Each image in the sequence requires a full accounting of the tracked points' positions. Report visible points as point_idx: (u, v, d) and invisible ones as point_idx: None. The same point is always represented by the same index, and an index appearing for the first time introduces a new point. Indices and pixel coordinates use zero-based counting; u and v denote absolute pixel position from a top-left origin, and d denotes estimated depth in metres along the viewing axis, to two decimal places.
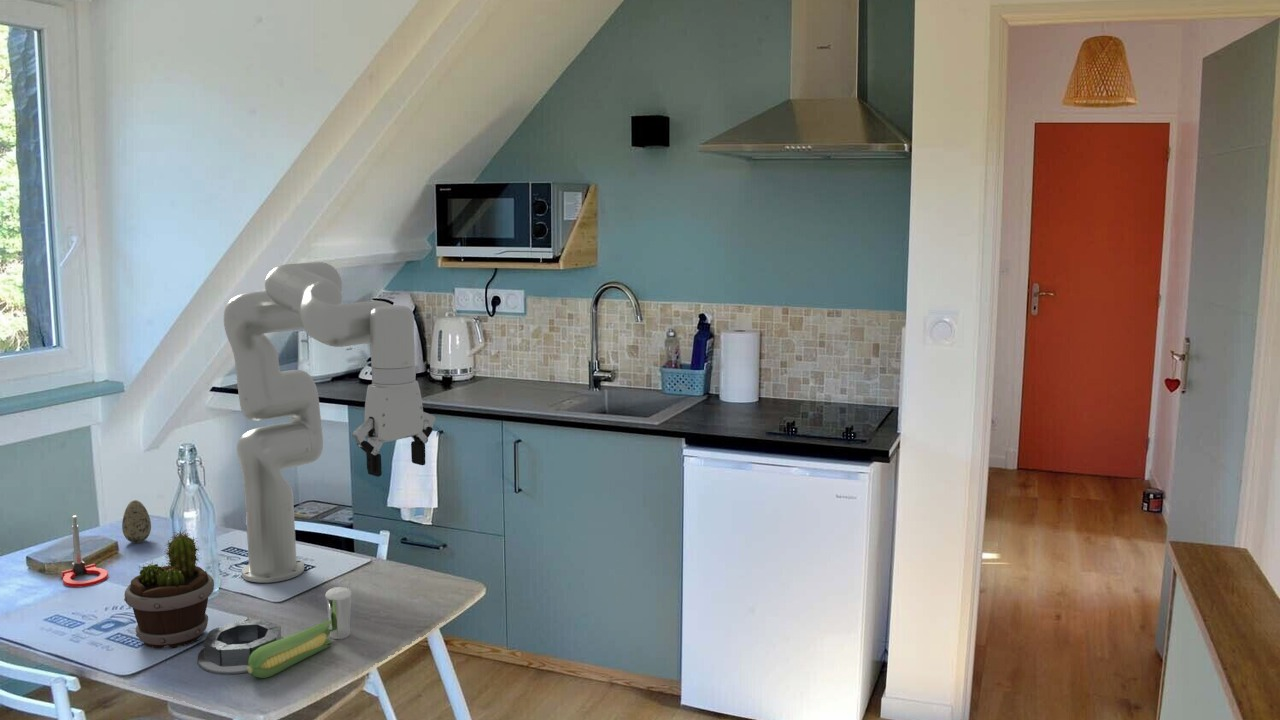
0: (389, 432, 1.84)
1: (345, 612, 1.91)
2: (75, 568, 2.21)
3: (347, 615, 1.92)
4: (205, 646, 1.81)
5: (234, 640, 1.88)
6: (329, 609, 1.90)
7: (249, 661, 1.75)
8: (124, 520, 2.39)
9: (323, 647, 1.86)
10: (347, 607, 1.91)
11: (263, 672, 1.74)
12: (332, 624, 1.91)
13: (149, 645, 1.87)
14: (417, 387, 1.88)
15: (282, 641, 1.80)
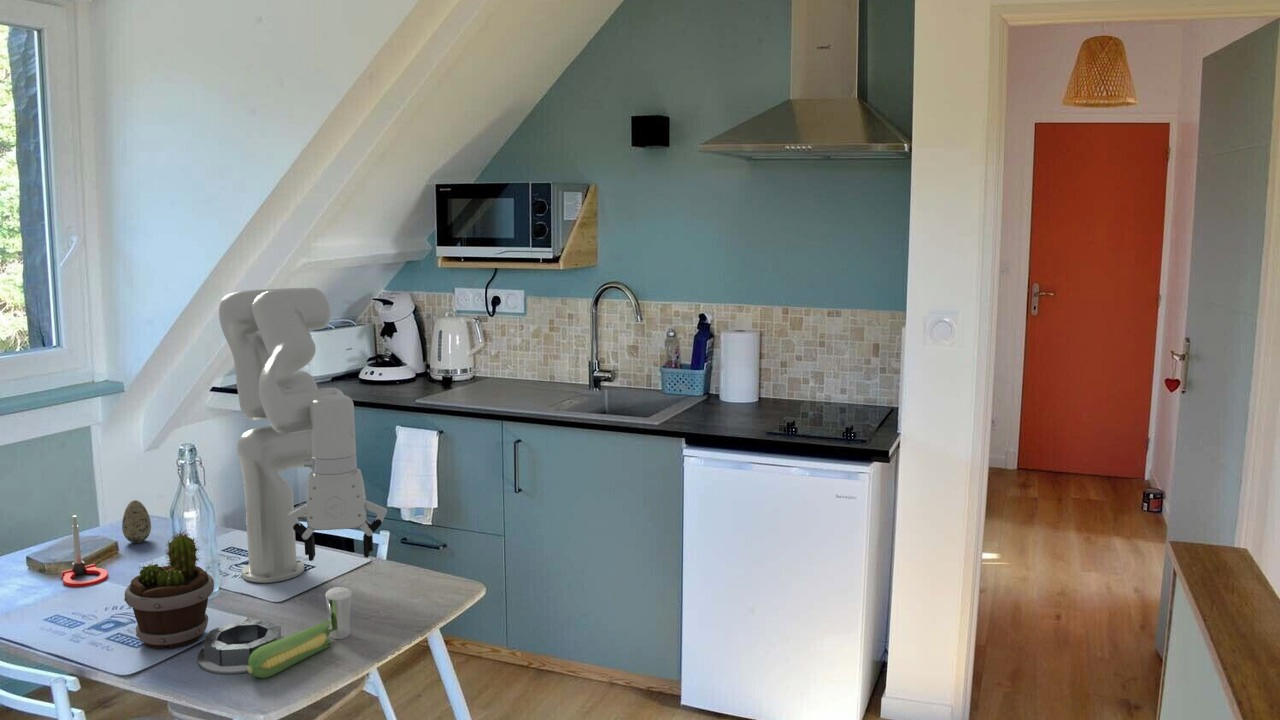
0: None
1: (345, 612, 1.91)
2: (75, 568, 2.21)
3: (347, 615, 1.92)
4: (205, 646, 1.81)
5: (234, 640, 1.88)
6: (329, 609, 1.90)
7: (249, 661, 1.75)
8: (124, 520, 2.39)
9: (323, 647, 1.86)
10: (347, 607, 1.91)
11: (263, 672, 1.74)
12: (332, 624, 1.91)
13: (149, 645, 1.87)
14: None
15: (282, 641, 1.80)
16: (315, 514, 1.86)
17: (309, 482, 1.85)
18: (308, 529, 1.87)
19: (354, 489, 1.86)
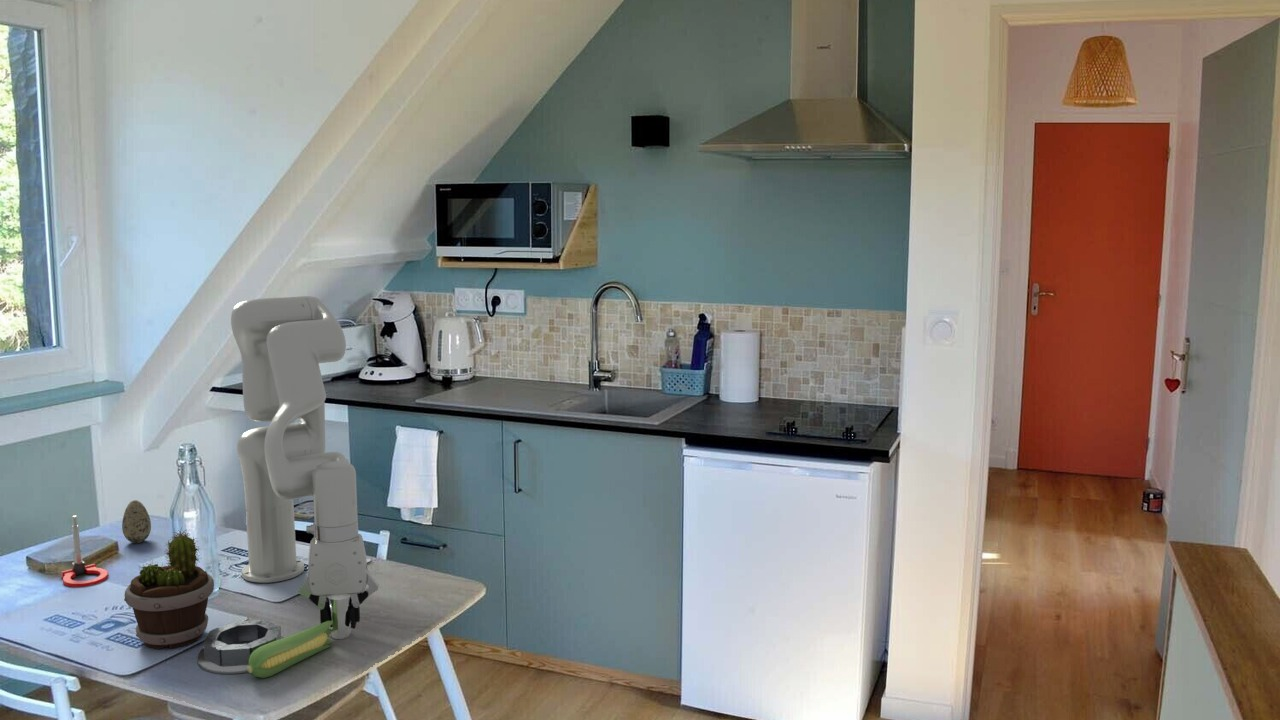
0: None
1: (346, 612, 1.91)
2: (75, 568, 2.21)
3: (348, 615, 1.92)
4: (205, 646, 1.81)
5: (234, 640, 1.88)
6: (330, 609, 1.90)
7: (249, 660, 1.75)
8: (124, 520, 2.39)
9: (324, 647, 1.86)
10: (348, 607, 1.91)
11: (263, 672, 1.74)
12: (333, 624, 1.91)
13: (149, 645, 1.87)
14: None
15: (283, 641, 1.80)
16: (316, 580, 1.88)
17: (311, 549, 1.88)
18: (320, 599, 1.90)
19: (355, 556, 1.89)
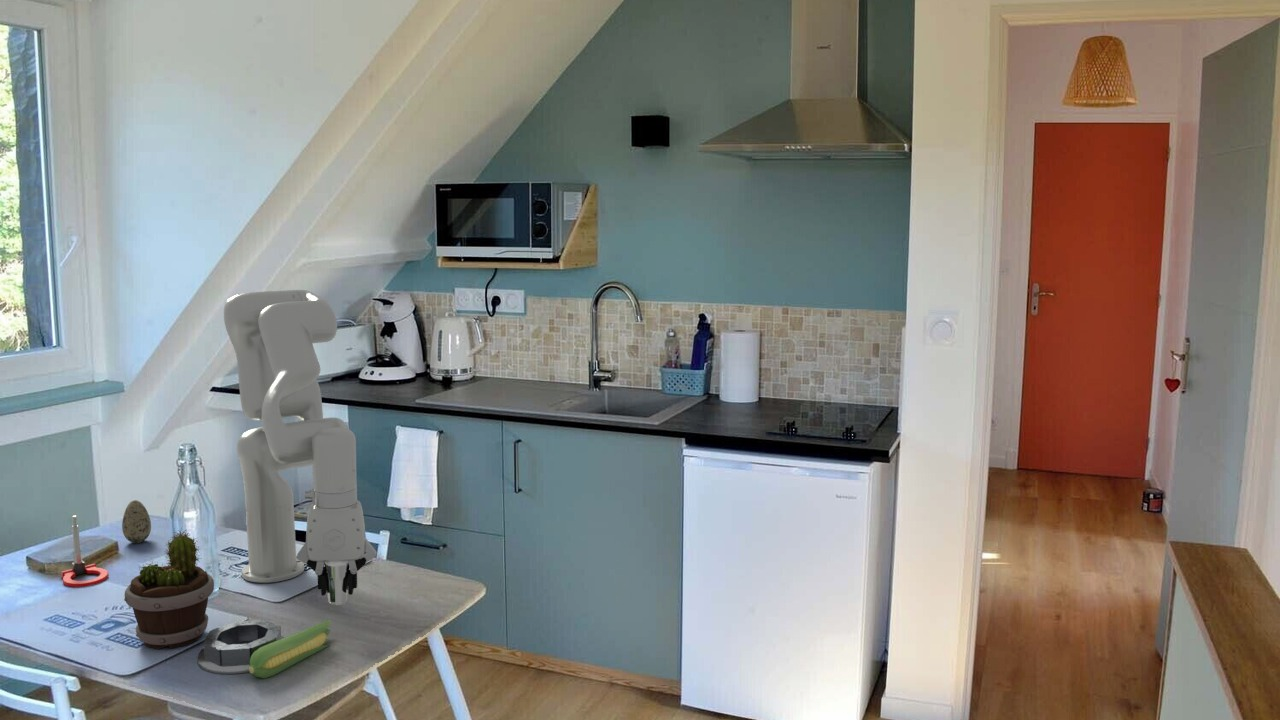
0: None
1: (343, 578, 1.91)
2: (75, 568, 2.21)
3: (345, 582, 1.91)
4: (205, 646, 1.81)
5: (234, 640, 1.88)
6: (327, 575, 1.90)
7: (251, 661, 1.75)
8: (124, 520, 2.39)
9: (323, 647, 1.87)
10: (345, 573, 1.91)
11: (265, 672, 1.75)
12: (330, 590, 1.91)
13: (149, 645, 1.87)
14: None
15: (283, 641, 1.80)
16: (314, 546, 1.88)
17: (309, 514, 1.87)
18: (318, 564, 1.90)
19: (354, 523, 1.88)
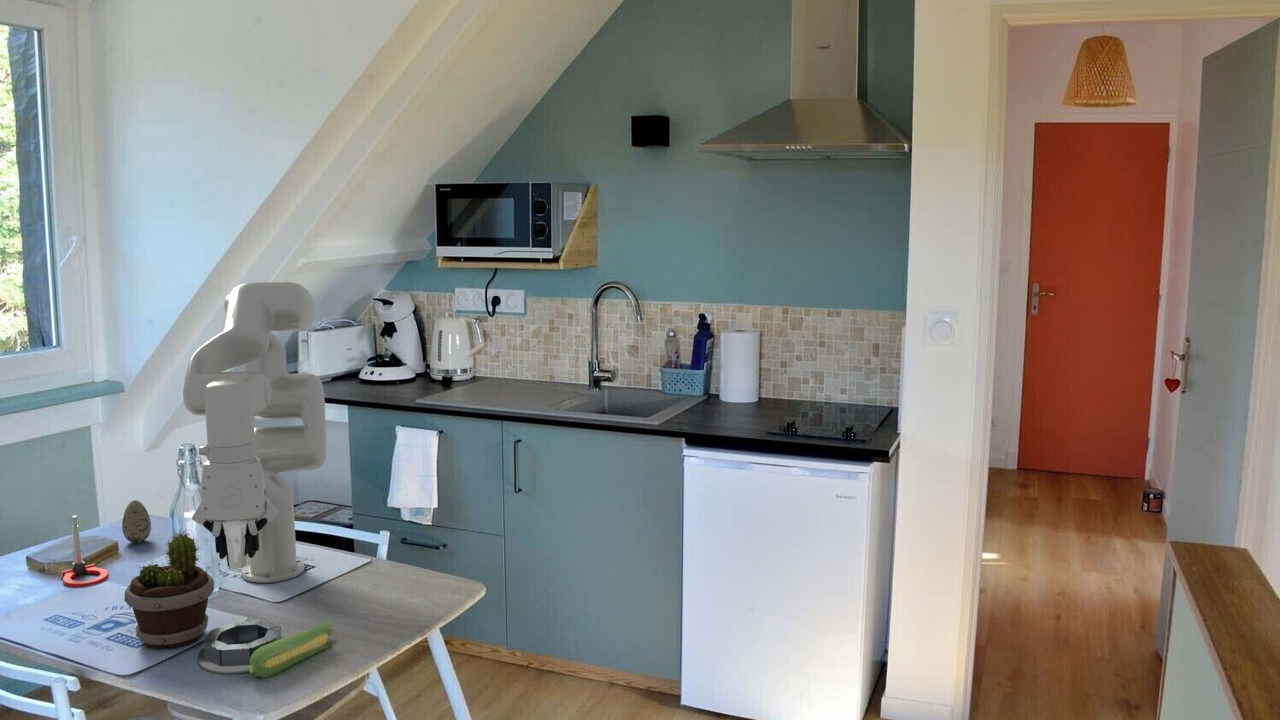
0: None
1: (242, 540, 1.80)
2: (75, 568, 2.21)
3: (245, 543, 1.80)
4: (205, 646, 1.81)
5: (234, 640, 1.88)
6: (225, 536, 1.79)
7: (250, 661, 1.75)
8: (124, 520, 2.39)
9: (325, 647, 1.87)
10: (245, 534, 1.80)
11: (264, 671, 1.75)
12: (228, 552, 1.80)
13: (149, 645, 1.87)
14: None
15: (284, 641, 1.81)
16: (210, 504, 1.77)
17: (203, 471, 1.77)
18: (214, 525, 1.79)
19: (251, 479, 1.78)
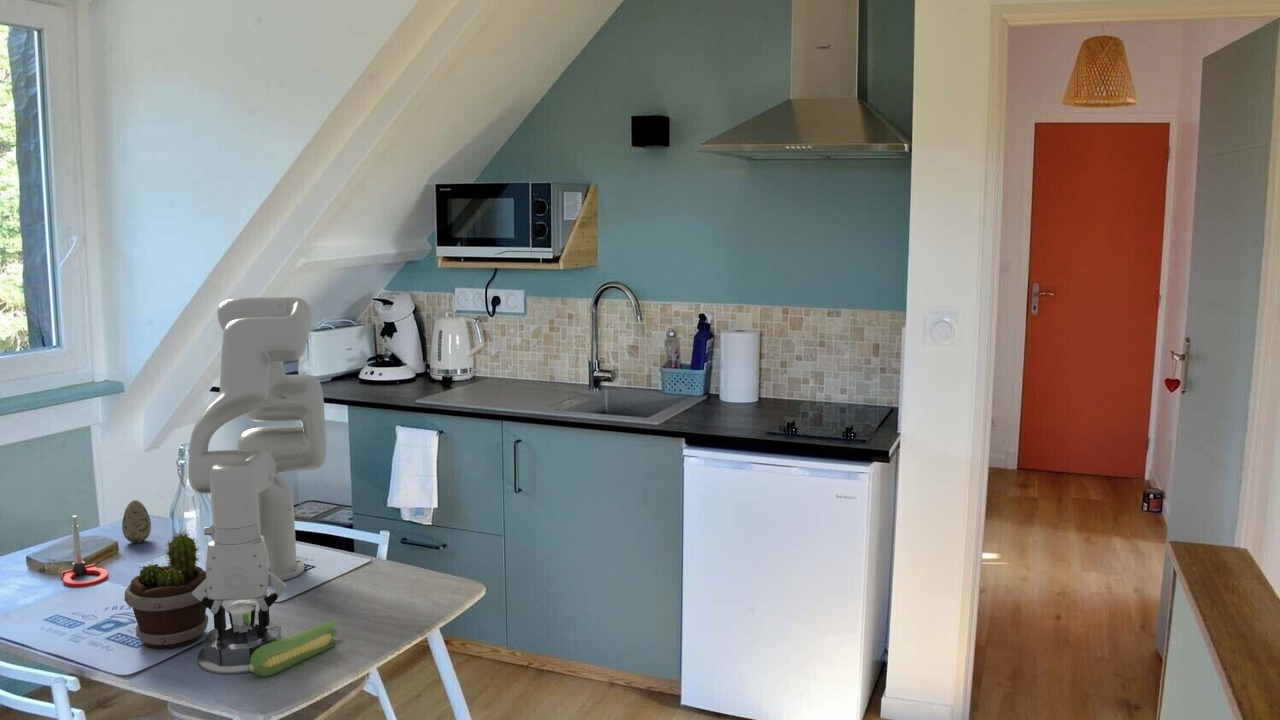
0: None
1: (248, 626, 1.83)
2: (75, 568, 2.21)
3: (251, 630, 1.83)
4: (205, 646, 1.81)
5: None
6: (232, 623, 1.82)
7: (251, 659, 1.76)
8: (124, 520, 2.39)
9: (327, 647, 1.87)
10: (251, 621, 1.83)
11: (264, 670, 1.75)
12: (235, 639, 1.83)
13: (149, 645, 1.87)
14: None
15: (285, 640, 1.81)
16: (215, 584, 1.79)
17: (208, 551, 1.79)
18: (215, 603, 1.81)
19: (256, 559, 1.80)
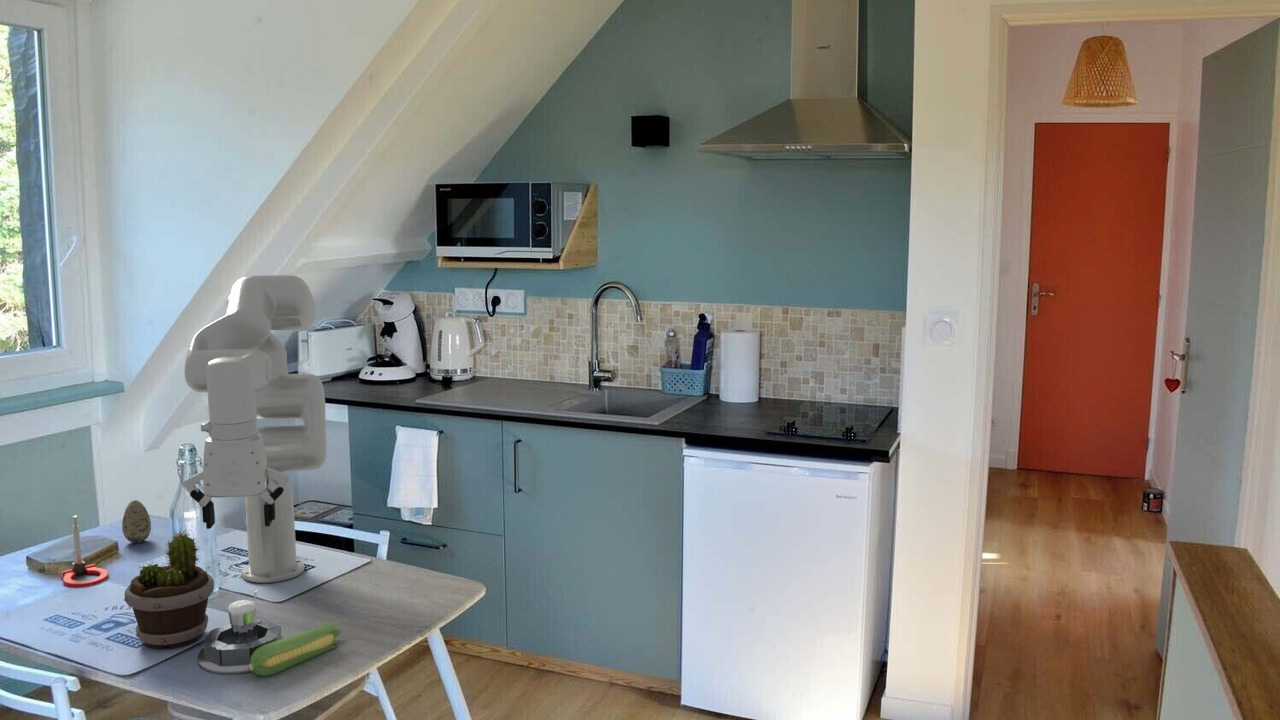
0: None
1: (248, 626, 1.83)
2: (75, 568, 2.21)
3: (251, 630, 1.83)
4: (205, 646, 1.81)
5: None
6: (232, 623, 1.82)
7: (251, 659, 1.76)
8: (124, 520, 2.39)
9: (330, 648, 1.87)
10: (251, 621, 1.83)
11: (264, 670, 1.76)
12: (235, 639, 1.83)
13: (149, 645, 1.87)
14: None
15: (286, 640, 1.81)
16: (212, 481, 1.78)
17: (205, 447, 1.78)
18: (205, 496, 1.80)
19: (253, 456, 1.79)
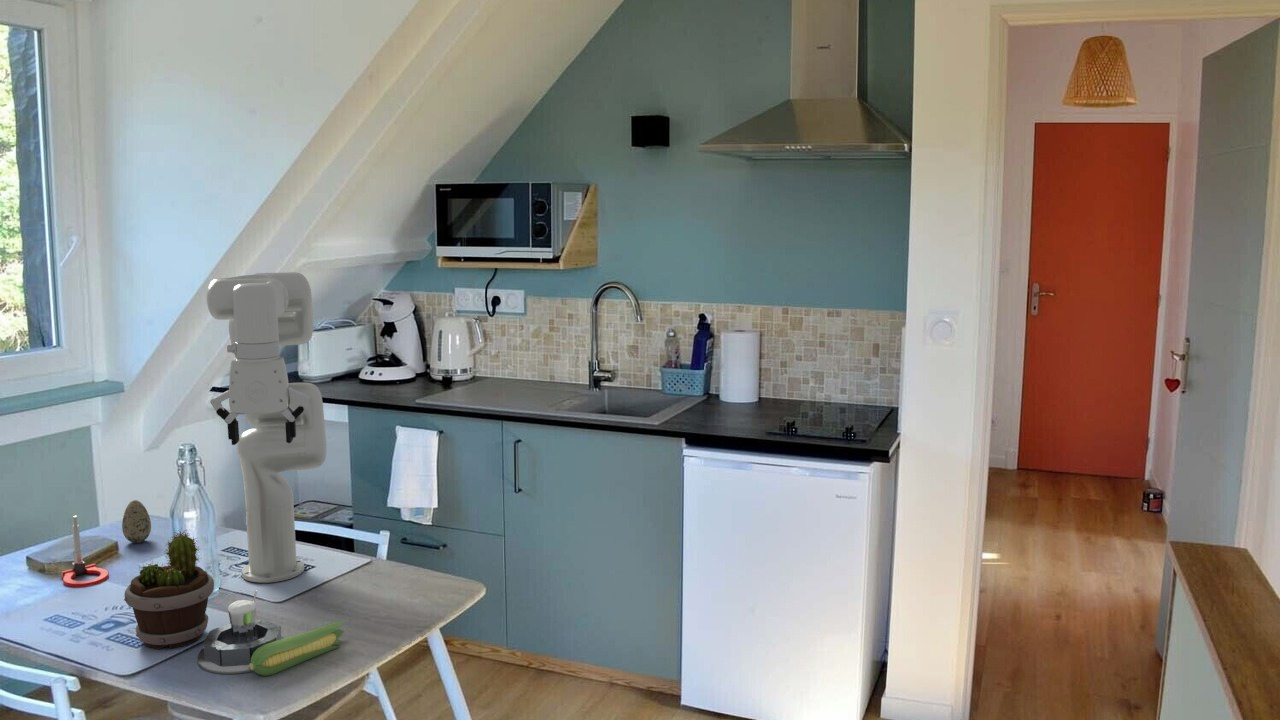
0: None
1: (248, 626, 1.83)
2: (75, 568, 2.21)
3: (251, 630, 1.83)
4: (205, 646, 1.81)
5: None
6: (232, 623, 1.82)
7: (252, 658, 1.76)
8: (124, 520, 2.39)
9: (331, 648, 1.87)
10: (251, 621, 1.83)
11: (264, 670, 1.76)
12: (235, 639, 1.83)
13: (149, 645, 1.87)
14: None
15: (288, 640, 1.81)
16: (237, 398, 1.90)
17: (231, 367, 1.90)
18: (231, 413, 1.92)
19: (276, 375, 1.91)
